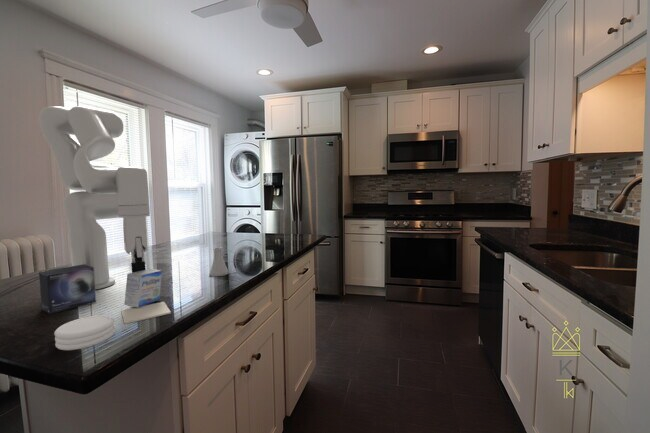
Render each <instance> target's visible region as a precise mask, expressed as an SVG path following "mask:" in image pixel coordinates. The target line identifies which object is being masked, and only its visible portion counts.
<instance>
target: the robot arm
mask: <svg viewBox="0 0 650 433" xmlns="http://www.w3.org/2000/svg"><path fill="white" fill-rule="evenodd" d="M38 123H39V128H40V131H41V134H42V135H43V136H42V137H43V138H44V140H45V142H46V143H47V144H48V146H49V148H50V149H51V151H52V154H53V156H54V159H55V163H56V167H57V170H58V173H59V176H60V180H61V182H62V184H63V186H64V187H65V188H66V189H68V190H72V191H75V192H70V193H68V194H67V195H65V197H64V198H63V200H62V207H63V213H64V215H65V218H66V221H67V227H68V233H69V234H68V235H69V243H70V244H69V245H70V255H71V256H70V257H71V266H77V265H83V264H85V265H88V266H91V267H94V282H95V291H96V290H99V289H103V288H108V287H110V286H113V285H114V284H115V283H116V279H115V278H113V277H110V270H109V268H110V267H109V257H108V243H107V234H106V231H105V228H103V226H102V225H100V223H98V222H97V221H100V220H110V219H119V218H122V220H123V221H122V223H123V224H122V225H123V227H122V228H123V246H124V252H125V253H127V254H129V255H131V262H130V264H131V273H133V272H138V271H142V270H147V268H146V261H145V252H147V251H148V232H147V219H146V217H151V210H150V196H149V184H148V183H149V182H148V180H149V178H148V172H147V170H146V169H145V168H143V167H140V166H121V167H115V166H113V165H111V164H108V163H102V162H92V161H95V160H97V159H100V158H105V157H107V156H108V155H111V154H112V153H113V151H114V150H115V148H116V142H115V140H114V139H116V138H119V137H120V136H122V134H123V132H124V127H125V126H124V122H123V119H122V118H121V116H120V115H119V114H118V113H116V112H114V111H111V110H107V109H104V108H103V109H102V108H96V107H92V106H87V105H77V106H73V107H71V108H70V107H64V106H45V107H43V108H42V109H41V111H40V112H39V115H38ZM71 135H73V136H75V137H76V139H77V140H76V139H74V138H73V137H72V136H71Z"/></svg>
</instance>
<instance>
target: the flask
mask: <svg viewBox="0 0 650 433" xmlns="http://www.w3.org/2000/svg"><path fill="white" fill-rule="evenodd" d="M222 250H223V247H214V248H213V251H214V252H213V253H214V256H213V260H212V264H211V268H210V271H209V275H208V276H209V277H223V276H226V275H229V274H230V273H229V269H228V268H227V265H226V262H225V259H224V257H223V253H222Z"/></svg>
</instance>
